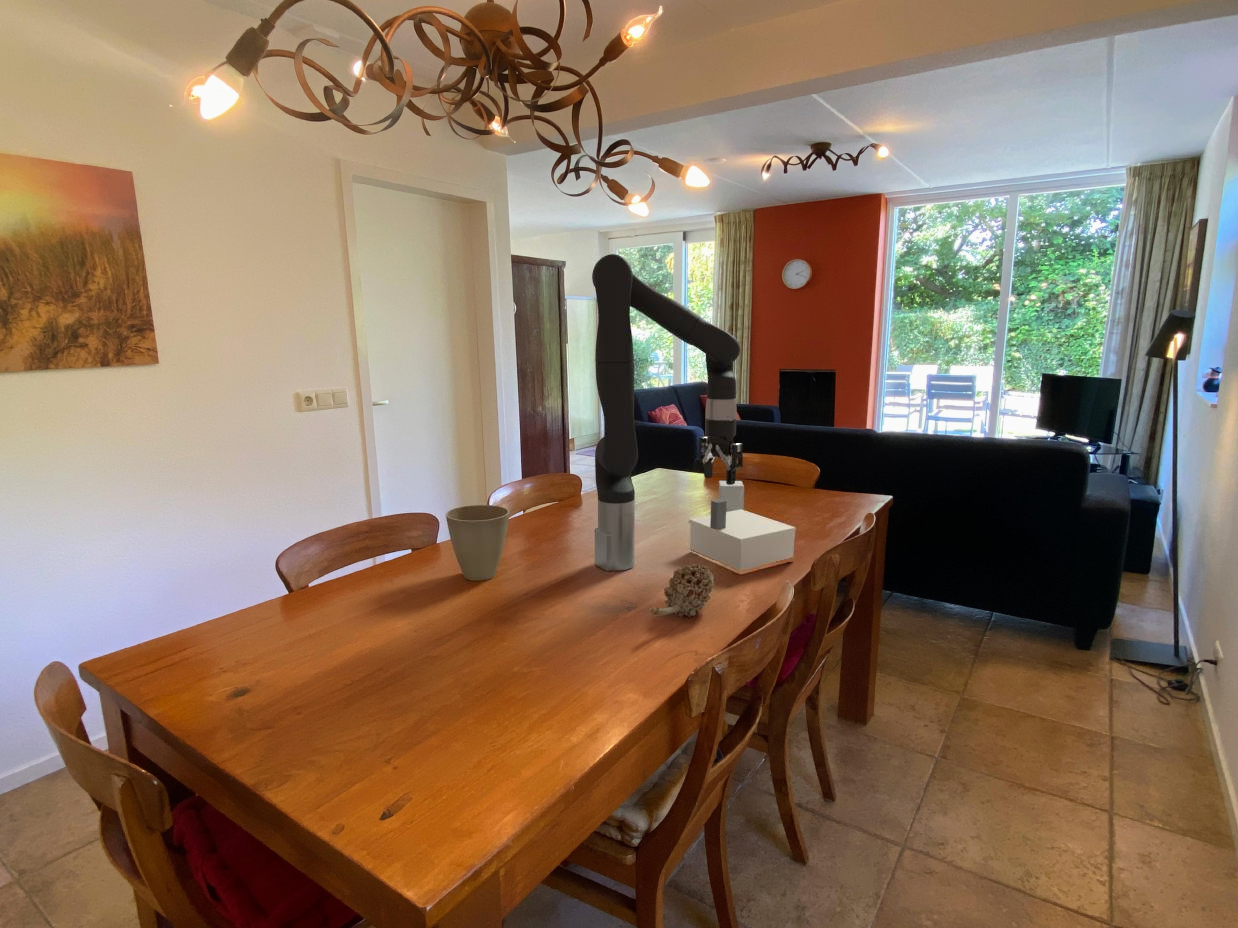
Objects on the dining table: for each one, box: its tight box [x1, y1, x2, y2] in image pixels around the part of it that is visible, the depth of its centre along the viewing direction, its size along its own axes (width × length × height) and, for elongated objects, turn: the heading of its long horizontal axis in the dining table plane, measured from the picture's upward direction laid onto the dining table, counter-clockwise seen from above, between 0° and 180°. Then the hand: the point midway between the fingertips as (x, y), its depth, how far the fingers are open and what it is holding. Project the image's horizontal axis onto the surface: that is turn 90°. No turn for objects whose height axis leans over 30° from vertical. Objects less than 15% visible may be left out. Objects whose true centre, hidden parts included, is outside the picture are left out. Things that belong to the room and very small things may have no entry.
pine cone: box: [648, 563, 715, 618], centre depth 134 cm, size 22×10×10 cm, turn 150°
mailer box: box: [689, 524, 796, 571], centre depth 171 cm, size 18×20×8 cm
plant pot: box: [445, 504, 510, 581], centre depth 158 cm, size 15×15×16 cm
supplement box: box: [718, 480, 745, 512], centre depth 202 cm, size 7×7×13 cm
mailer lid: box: [688, 498, 797, 544], centre depth 170 cm, size 18×20×8 cm
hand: (719, 481), depth 164 cm, fingers open, 8 cm apart
